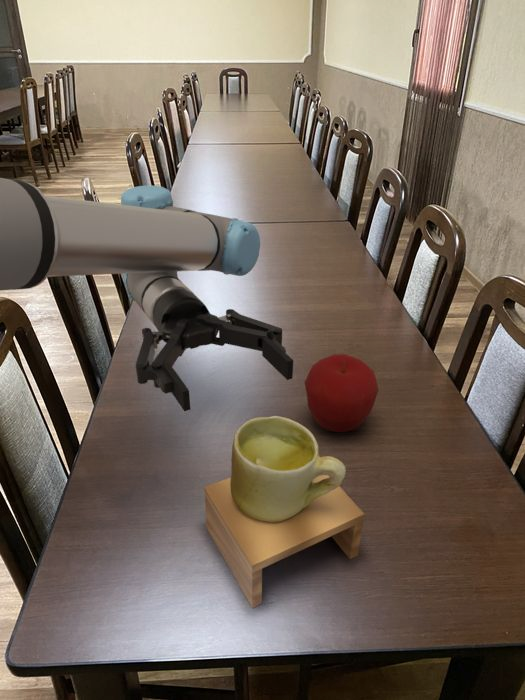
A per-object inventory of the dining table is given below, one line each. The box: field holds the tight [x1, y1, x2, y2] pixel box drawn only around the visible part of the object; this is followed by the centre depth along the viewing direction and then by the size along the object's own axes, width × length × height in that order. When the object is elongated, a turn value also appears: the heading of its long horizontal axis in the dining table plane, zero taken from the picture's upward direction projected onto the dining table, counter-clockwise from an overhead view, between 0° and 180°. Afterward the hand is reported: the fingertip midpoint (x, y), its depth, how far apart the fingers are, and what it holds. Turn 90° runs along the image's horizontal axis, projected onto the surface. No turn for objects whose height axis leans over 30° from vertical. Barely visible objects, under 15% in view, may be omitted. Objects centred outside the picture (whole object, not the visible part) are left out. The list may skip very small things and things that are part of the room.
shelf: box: [203, 475, 365, 609], centre depth 62 cm, size 14×12×7 cm
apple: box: [304, 353, 379, 433], centre depth 80 cm, size 11×11×12 cm
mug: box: [230, 415, 347, 522], centre depth 59 cm, size 12×10×10 cm
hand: (241, 385), depth 63 cm, fingers open, 13 cm apart
